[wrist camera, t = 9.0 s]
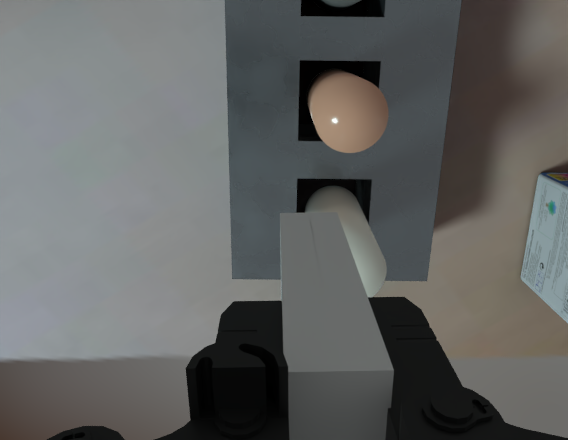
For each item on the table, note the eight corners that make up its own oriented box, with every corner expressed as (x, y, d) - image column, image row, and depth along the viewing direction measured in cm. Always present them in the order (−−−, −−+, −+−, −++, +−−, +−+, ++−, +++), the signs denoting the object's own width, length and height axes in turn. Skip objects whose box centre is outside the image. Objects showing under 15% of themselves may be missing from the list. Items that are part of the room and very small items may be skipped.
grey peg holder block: (240, 241, 42) (232, 279, 35) (233, -99, 33) (221, -134, 27) (404, 243, 42) (427, 281, 35) (439, -96, 33) (477, -131, 27)
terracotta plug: (305, 124, 35) (313, 152, 26) (306, 68, 33) (315, 77, 24) (359, 124, 35) (385, 153, 26) (362, 68, 33) (391, 78, 24)
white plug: (304, 237, 35) (311, 304, 26) (305, 185, 33) (313, 237, 24) (357, 237, 35) (383, 305, 26) (361, 185, 33) (389, 238, 24)
